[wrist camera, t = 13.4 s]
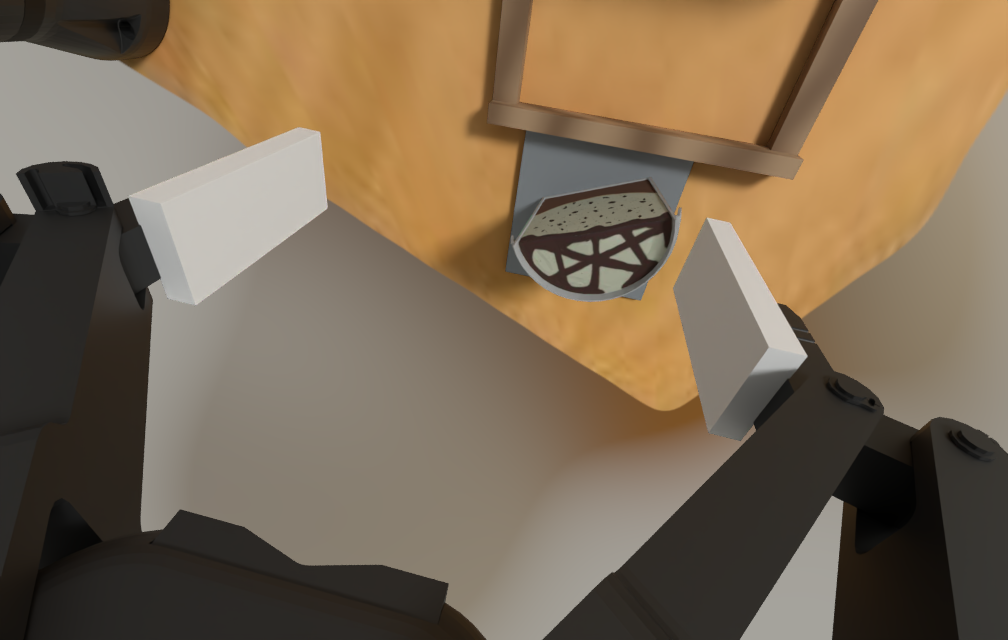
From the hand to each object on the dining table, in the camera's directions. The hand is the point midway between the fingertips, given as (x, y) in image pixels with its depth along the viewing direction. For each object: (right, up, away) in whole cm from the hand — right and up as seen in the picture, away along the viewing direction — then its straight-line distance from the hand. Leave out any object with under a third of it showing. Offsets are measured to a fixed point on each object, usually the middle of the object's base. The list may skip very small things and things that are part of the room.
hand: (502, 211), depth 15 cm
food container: (+9, +6, +25) cm, 27 cm away
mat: (+8, +6, +26) cm, 27 cm away
